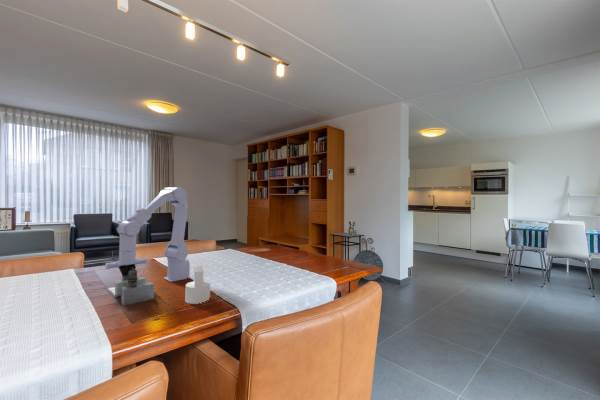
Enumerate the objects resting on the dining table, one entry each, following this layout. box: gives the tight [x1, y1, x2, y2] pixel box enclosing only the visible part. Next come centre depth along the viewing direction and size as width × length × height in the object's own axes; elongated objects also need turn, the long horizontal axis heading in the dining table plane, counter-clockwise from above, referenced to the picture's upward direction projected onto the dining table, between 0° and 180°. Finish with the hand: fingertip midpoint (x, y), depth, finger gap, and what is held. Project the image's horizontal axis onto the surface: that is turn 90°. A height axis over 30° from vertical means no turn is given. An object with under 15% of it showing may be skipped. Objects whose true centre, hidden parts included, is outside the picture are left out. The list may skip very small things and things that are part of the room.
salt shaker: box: [127, 268, 139, 287], centre depth 105 cm, size 6×6×12 cm
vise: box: [107, 281, 155, 307], centre depth 109 cm, size 10×22×6 cm, turn 47°
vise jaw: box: [114, 275, 147, 297], centre depth 109 cm, size 10×6×6 cm, turn 137°
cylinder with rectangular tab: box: [184, 265, 211, 305], centre depth 106 cm, size 9×9×12 cm
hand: (126, 283), depth 112 cm, fingers closed, pressing on vise jaw
